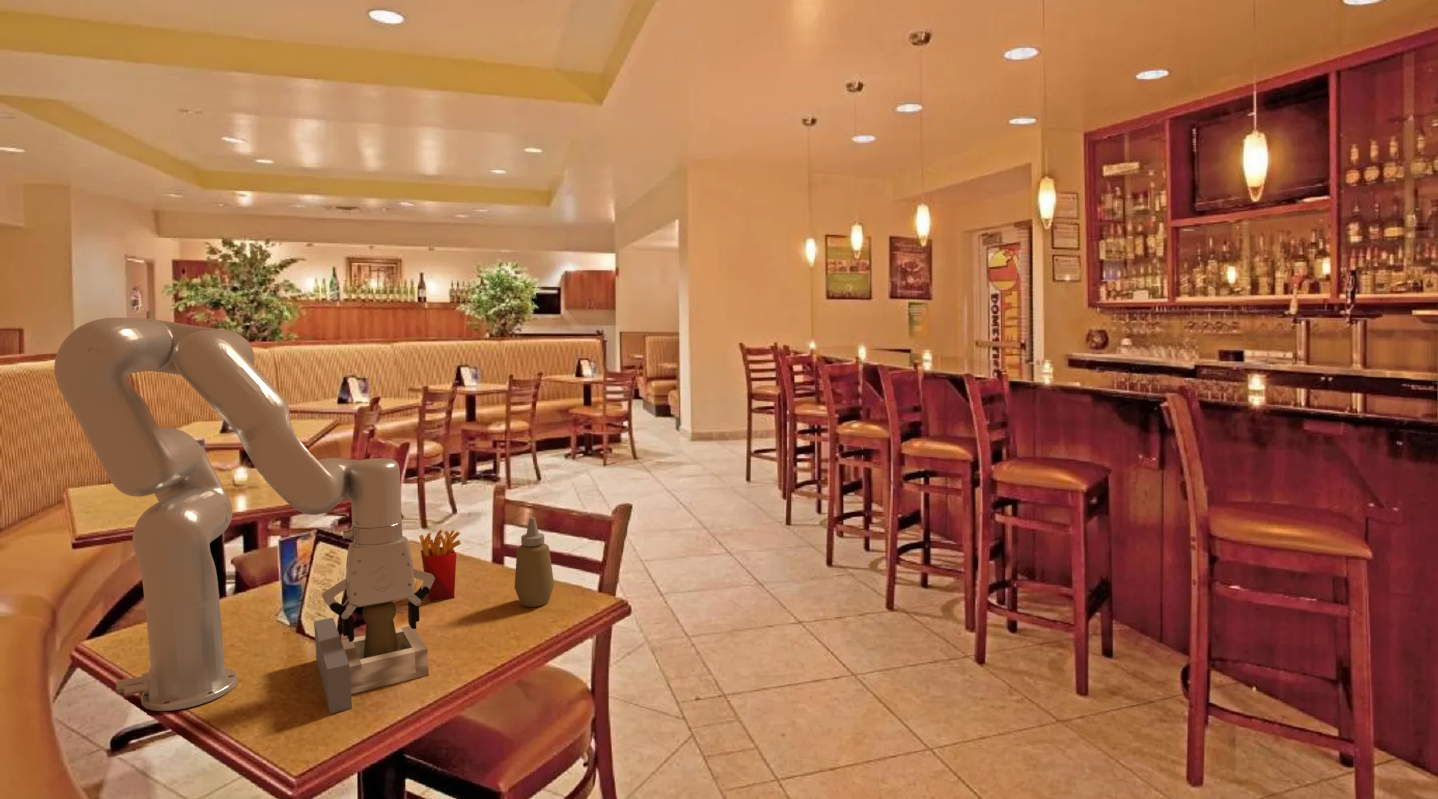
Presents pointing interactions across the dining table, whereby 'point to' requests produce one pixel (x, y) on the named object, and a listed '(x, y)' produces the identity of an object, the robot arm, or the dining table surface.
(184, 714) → the dining table surface
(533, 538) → the squeeze bottle
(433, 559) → the french fries
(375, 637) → the pepper mill
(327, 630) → the backstop wall
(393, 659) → the holder block
